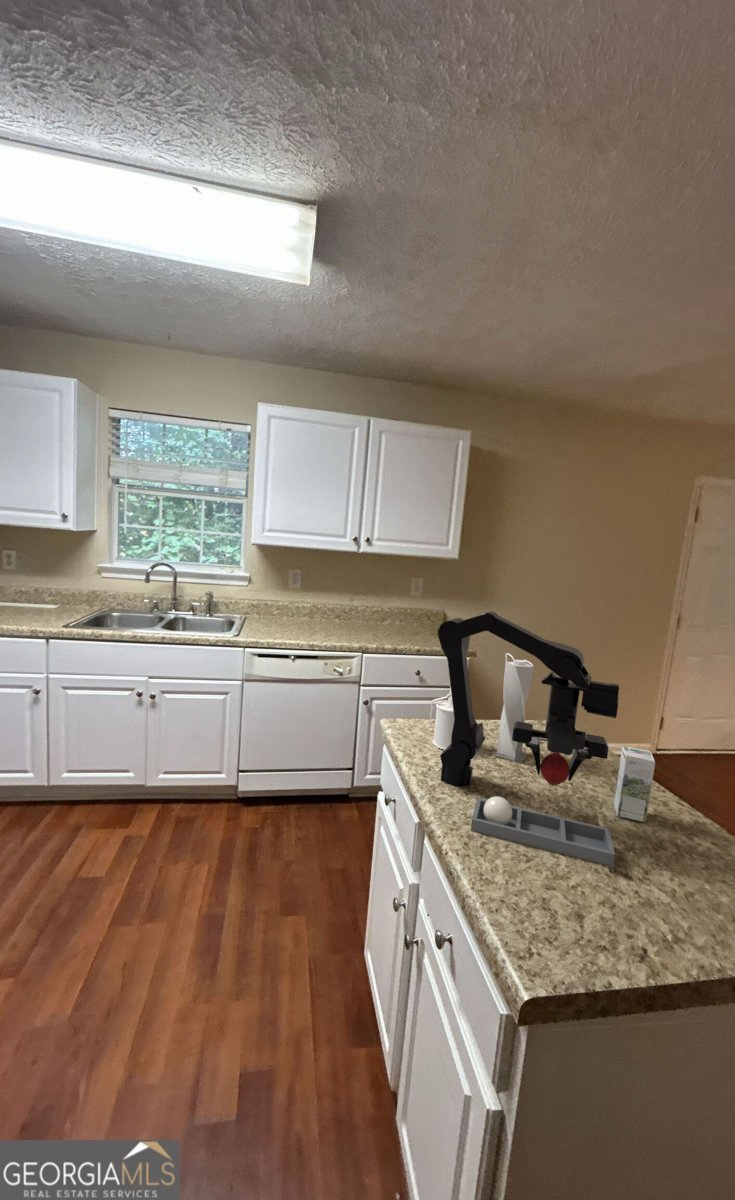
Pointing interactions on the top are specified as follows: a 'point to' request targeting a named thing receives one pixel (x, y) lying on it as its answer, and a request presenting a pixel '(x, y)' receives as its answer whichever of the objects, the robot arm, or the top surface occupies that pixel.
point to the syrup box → (634, 784)
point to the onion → (554, 768)
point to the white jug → (443, 722)
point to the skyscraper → (513, 707)
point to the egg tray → (550, 834)
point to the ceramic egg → (498, 810)
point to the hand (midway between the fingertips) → (553, 777)
